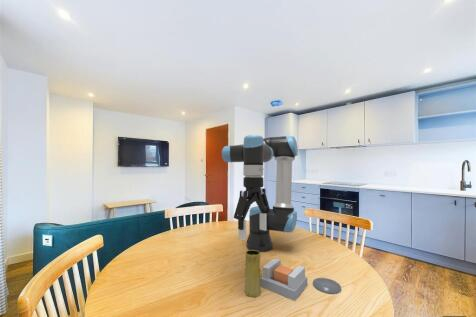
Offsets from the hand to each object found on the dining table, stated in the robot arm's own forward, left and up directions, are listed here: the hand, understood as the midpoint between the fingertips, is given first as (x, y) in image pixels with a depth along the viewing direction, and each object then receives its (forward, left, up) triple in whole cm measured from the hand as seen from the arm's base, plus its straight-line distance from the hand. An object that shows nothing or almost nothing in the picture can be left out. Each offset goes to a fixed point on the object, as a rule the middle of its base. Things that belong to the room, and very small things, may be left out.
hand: (253, 234), depth 77 cm
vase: (0, 0, -21) cm, 21 cm away
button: (+7, +11, -18) cm, 22 cm away
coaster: (+20, +21, -21) cm, 36 cm away
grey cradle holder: (+7, +11, -21) cm, 24 cm away
